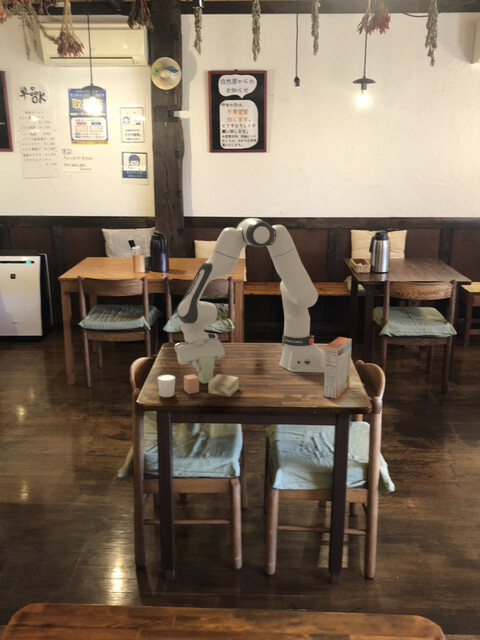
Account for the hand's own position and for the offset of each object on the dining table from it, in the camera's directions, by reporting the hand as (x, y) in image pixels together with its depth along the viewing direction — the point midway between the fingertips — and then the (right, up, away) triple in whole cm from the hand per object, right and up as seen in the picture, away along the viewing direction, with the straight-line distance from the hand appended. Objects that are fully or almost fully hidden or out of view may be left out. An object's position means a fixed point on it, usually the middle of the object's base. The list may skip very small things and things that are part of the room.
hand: (206, 370), depth 251 cm
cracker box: (+52, -8, -8) cm, 53 cm away
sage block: (0, -5, +2) cm, 5 cm away
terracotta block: (-5, -8, -9) cm, 13 cm away
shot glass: (-15, -9, -12) cm, 21 cm away
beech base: (+7, -8, -8) cm, 13 cm away
